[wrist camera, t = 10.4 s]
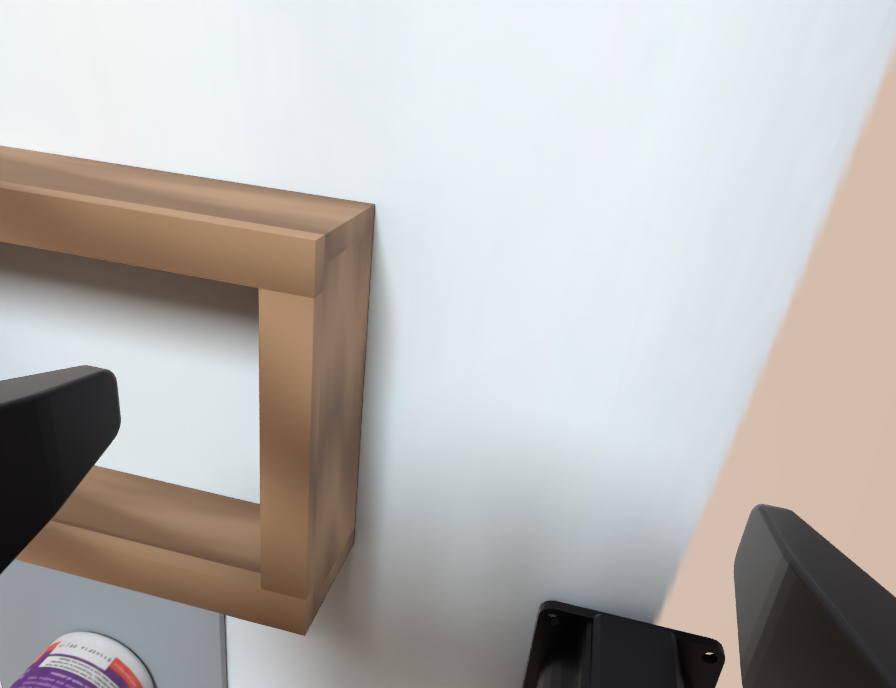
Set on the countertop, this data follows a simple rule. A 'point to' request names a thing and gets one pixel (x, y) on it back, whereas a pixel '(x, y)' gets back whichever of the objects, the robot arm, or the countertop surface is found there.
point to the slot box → (280, 382)
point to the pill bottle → (85, 665)
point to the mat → (107, 626)
